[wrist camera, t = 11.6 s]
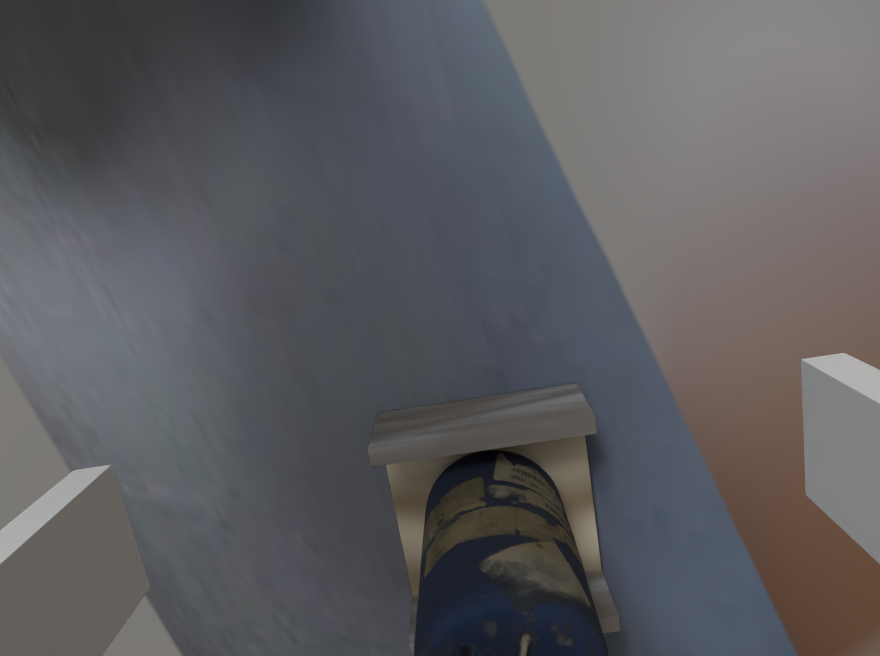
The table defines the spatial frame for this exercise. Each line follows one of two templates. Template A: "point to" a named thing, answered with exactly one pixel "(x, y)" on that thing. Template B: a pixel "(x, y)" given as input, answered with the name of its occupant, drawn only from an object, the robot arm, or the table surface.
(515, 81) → the table surface
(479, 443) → the keeper cradle
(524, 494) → the canister
